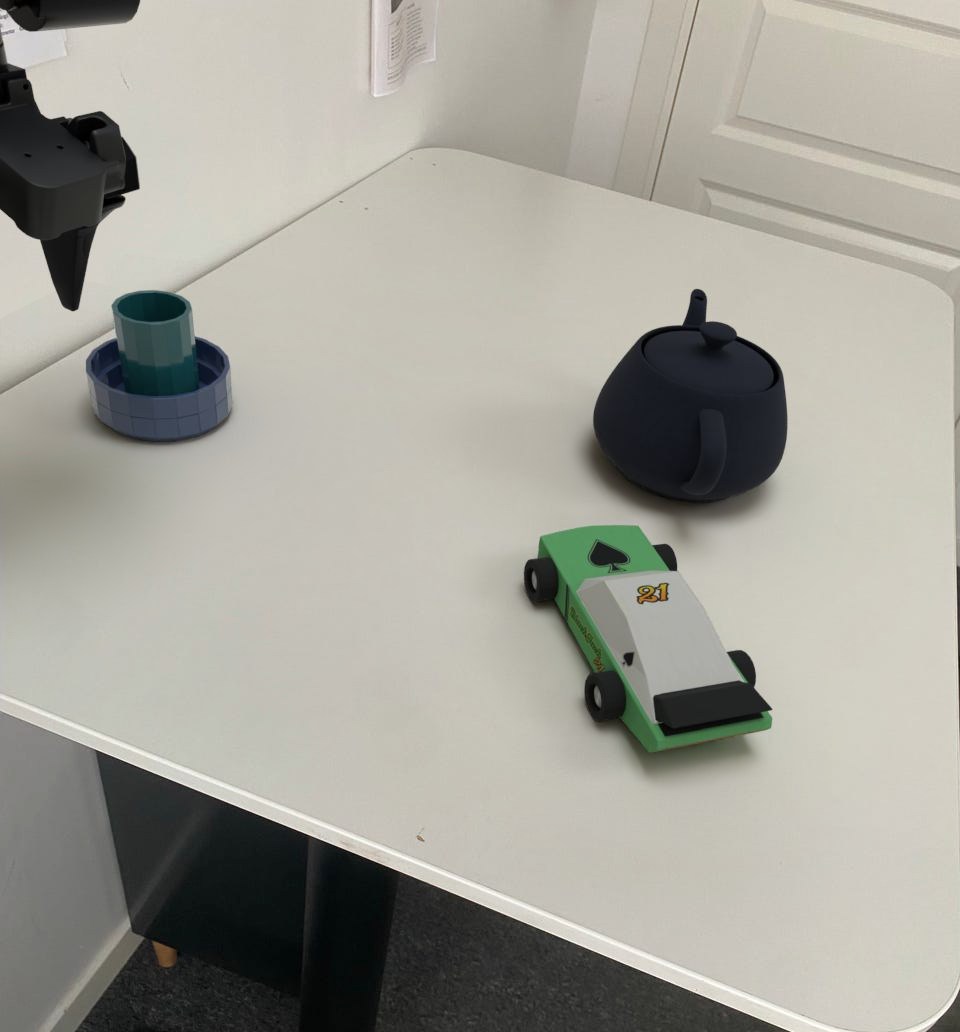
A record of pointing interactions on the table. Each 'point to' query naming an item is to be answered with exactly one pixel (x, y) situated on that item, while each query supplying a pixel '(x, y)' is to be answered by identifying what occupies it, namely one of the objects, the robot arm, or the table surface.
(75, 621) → the table surface
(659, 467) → the teapot
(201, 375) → the bowl
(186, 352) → the cup
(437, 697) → the table surface
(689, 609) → the toy car
